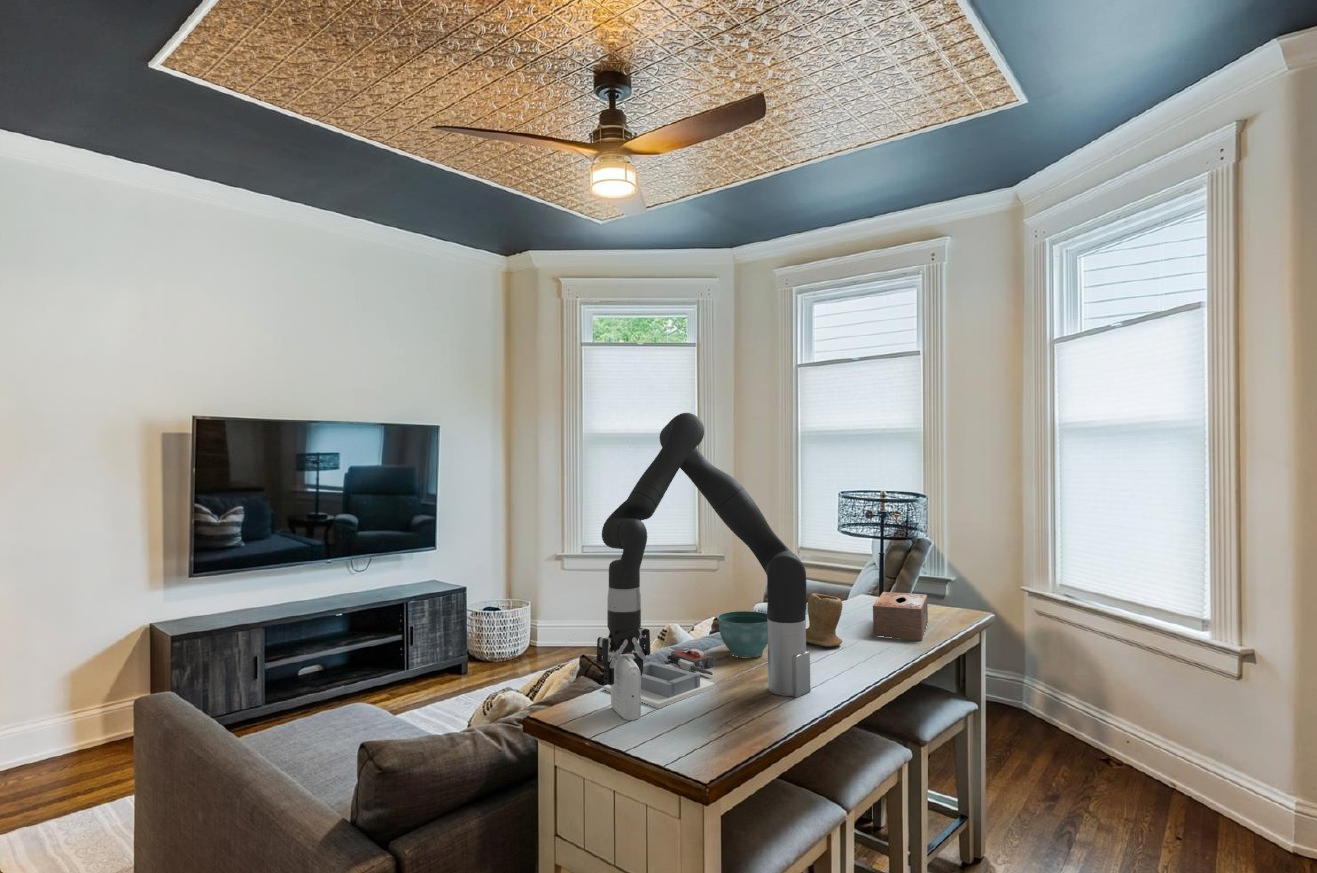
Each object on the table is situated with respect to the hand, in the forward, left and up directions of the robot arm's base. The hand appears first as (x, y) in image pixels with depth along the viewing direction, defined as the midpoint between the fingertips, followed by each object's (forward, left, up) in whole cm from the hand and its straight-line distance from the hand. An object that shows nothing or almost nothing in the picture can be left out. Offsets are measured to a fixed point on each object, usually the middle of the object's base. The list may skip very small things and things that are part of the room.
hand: (624, 679), depth 156 cm
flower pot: (+8, -56, -7) cm, 57 cm away
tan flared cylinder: (-1, -81, -7) cm, 81 cm away
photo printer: (-1, 0, -7) cm, 7 cm away
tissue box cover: (-12, -114, -8) cm, 115 cm away
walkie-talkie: (+11, -37, -8) cm, 39 cm away
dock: (+5, -17, -7) cm, 19 cm away
